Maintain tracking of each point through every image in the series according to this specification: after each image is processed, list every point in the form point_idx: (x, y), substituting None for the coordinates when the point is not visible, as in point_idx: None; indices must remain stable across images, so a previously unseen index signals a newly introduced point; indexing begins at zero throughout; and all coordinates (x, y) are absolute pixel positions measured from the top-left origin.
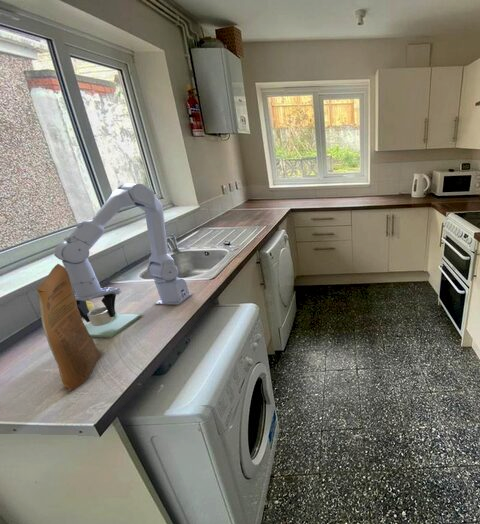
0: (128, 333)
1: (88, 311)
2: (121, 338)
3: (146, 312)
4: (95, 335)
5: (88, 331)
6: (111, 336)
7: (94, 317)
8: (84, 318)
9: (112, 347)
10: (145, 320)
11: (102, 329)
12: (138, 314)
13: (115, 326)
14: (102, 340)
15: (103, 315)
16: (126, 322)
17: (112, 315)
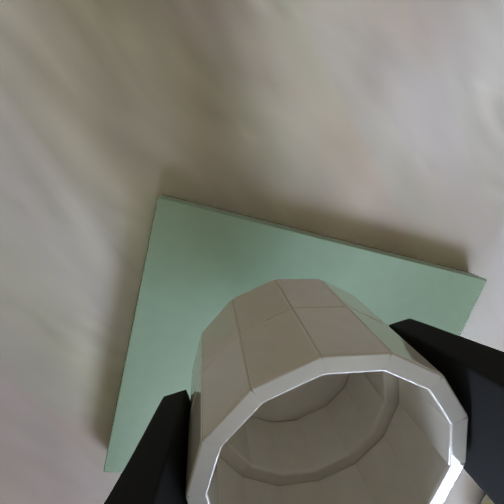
0: (36, 235)
1: (477, 473)
2: (46, 163)
3: (105, 495)
4: (300, 231)
5: (383, 289)
6: (157, 202)
7: (316, 334)
8: (459, 340)
9: (22, 10)
10: (25, 403)
11: None
12: (118, 470)
13: (203, 330)
14: (213, 168)
15: (217, 385)
16: (142, 375)
17: (156, 409)
